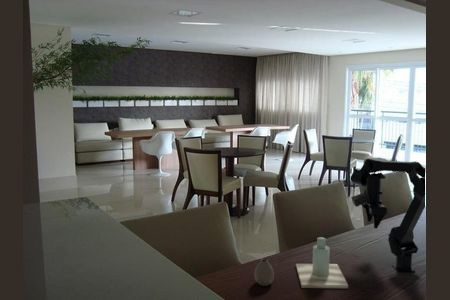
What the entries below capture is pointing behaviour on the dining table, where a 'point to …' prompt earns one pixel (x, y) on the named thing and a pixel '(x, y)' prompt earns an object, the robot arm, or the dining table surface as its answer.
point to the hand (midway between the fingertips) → (372, 224)
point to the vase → (264, 273)
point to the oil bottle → (321, 258)
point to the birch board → (313, 281)
